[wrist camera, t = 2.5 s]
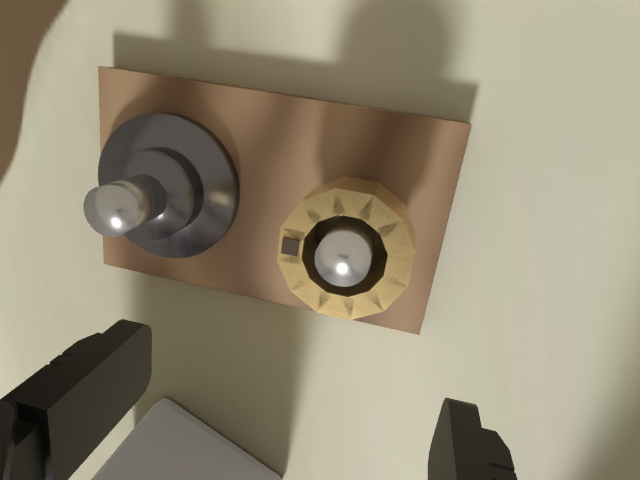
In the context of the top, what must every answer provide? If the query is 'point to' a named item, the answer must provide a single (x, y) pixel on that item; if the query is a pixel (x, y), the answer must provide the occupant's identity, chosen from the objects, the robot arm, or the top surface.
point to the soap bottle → (179, 451)
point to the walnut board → (294, 177)
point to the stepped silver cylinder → (346, 250)
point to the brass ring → (380, 281)
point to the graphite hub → (164, 186)
